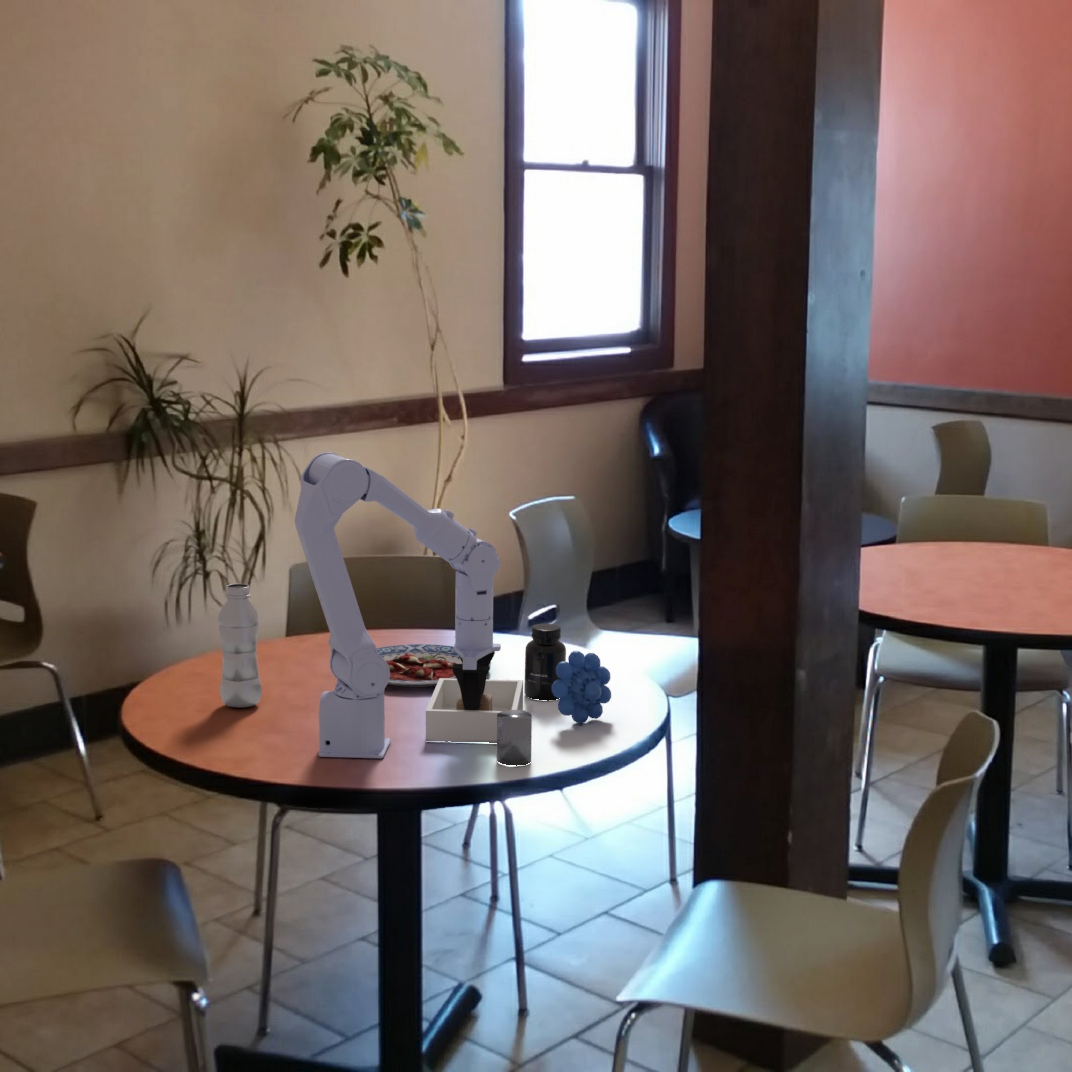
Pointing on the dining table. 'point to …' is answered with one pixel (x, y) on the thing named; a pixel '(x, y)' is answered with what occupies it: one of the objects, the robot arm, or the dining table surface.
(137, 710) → the dining table surface
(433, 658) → the ceramic plate
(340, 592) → the robot arm
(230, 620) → the plastic bottle
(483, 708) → the walnut cube
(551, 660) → the supplement bottle
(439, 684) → the box
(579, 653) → the blue knobbed flower shape
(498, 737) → the grey metal cylinder
